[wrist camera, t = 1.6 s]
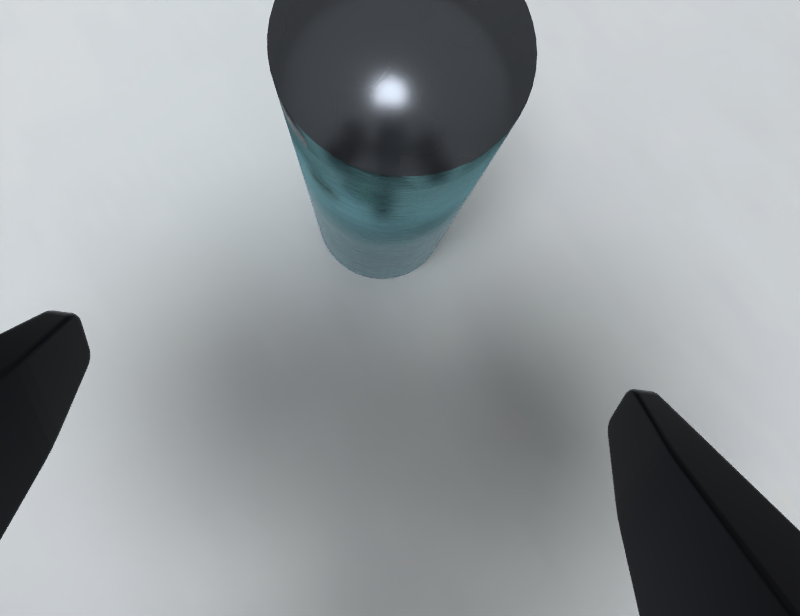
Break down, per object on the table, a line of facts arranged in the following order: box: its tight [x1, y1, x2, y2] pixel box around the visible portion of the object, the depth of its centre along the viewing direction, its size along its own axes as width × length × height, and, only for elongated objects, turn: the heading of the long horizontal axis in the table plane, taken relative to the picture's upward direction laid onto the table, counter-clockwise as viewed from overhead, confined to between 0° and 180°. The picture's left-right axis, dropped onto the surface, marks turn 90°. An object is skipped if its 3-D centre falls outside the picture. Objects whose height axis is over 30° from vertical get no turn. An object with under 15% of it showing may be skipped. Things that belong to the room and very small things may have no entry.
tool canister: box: [267, 0, 537, 279], centre depth 16 cm, size 5×5×12 cm
